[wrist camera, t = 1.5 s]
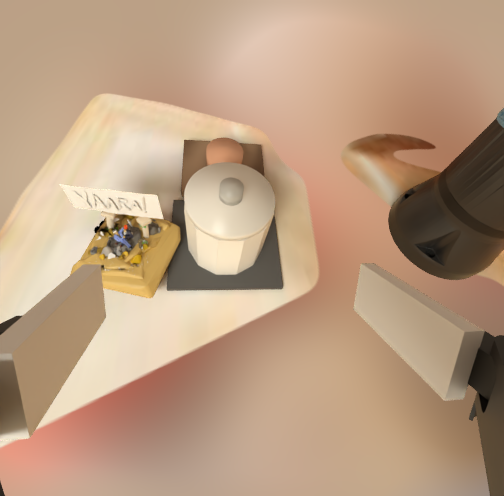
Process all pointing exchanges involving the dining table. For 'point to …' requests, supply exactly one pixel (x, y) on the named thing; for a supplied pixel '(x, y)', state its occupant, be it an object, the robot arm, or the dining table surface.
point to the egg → (224, 151)
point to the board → (197, 159)
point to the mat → (197, 278)
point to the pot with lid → (227, 216)
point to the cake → (127, 239)
